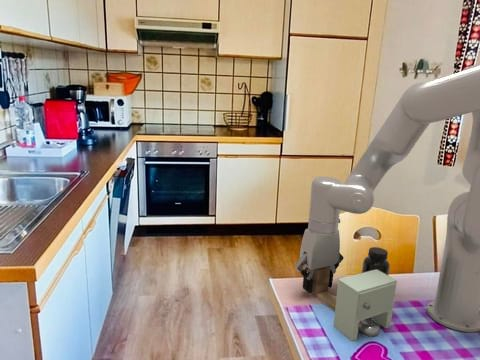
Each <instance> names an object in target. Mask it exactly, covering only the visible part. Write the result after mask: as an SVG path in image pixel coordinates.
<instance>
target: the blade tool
mask: <svg viewBox="0 0 480 360" xmlns="http://www.w3.org/2000/svg"><path fill="white" fill-rule="evenodd" d="M309 270H310V269H308V271H307V273H308V272H309ZM329 276H330V267H329V266H327V267H323V268H319V269H315V270H314V273H313V275H312V278H311V279H313V287H312V293H308V294H310V295H311V296H312V297H314V298H315V299H317V300H318V301H320V303H322V304H324V305H325V306H326V307H327V308H329V309H330V308H331V309H332V311H333V310H334V311H335V307H336V297H337V296H335V295H333V294H332V293H330V292H329V287H328V286H329ZM331 309H330V310H331ZM334 311H333V312H334Z"/></svg>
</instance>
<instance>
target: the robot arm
mask: <svg viewBox="0 0 480 360" xmlns="http://www.w3.org/2000/svg"><path fill="white" fill-rule="evenodd" d="M470 113H471V114H472V125H471V132H470V137H469V141H468V146H467V148H466V153H465V157H464V160H463V161H464V162H463V164H462V168H461V169H462V170H461V171H462V176H463V178H464V179H465V181H466V182H467V183H468V184H469V185H470V187H469V191H466V192H463V193H461V194H458V195H457V196H456V197H454V198H453V200H452V201H451V203H450V205H449V207H448V211H447V217H446V218H447V219H446V233H445V234H446V235H445V242H444V250H443V255H442V258H441V263H440V272H439V276H438V277H439V278H438V283H437V290H436V295H435V299H433V300H431V301H429V302H428V303H427V306H426V311H427V314H428V315H429V317H430V318H431V319H432V320H434V322H437V323H438V324H440V325H442V326H444V327H446V328H449V329H452V330H456V331H459V332H465V333H466V332H467V333H473V332H476V333H477V332H478V331H480V63H479V64H474V65H470V66H467V67H465V68H464V69H463V70H461V71H459V72H455V73H452V74H449V75H445V76H443V77H440V78H436V79H432V80H428V81H424V82H423V81H421V82H418V83H414V84H412V85H410V86H409V87H408V88H406V89H405V91H404V92H403V94H402V95H401V97H400V98H399V100H398V101H397V103H396V104H395V106H394V107H393V109H392V110H391V112H390V113H389V115H388V116H387V118H386V120H385V121H384V122H383V124H382V126H381V127H380V128H379V130H378V131H377V133H376V135H375V136H374V138H372V140H371V142H370V144H369V145H368V146H367V148H366V150H365V151H364V153H363V154H362V156H361V157H360V159H359V160H358V161H357V162H356V165H355V166H354V167H353V169H352V170H351V172H350V173H349V174H348V177H347V178H346V179H345V181H344V183H342V182H341V180H340V179H338V178H336V177H335V178H334V177H330V176H317V177H315V178H313V180H312V181H311V189H310V202H309V215H308V226H307V228H305V230H304V233H303V236H302V240H301V246H300V251H299V259H298V261H297V263H295V265H294V268H295V269H296V270H297V272H298V273H300V274H301V276H302V277H303V278H302V289H303V290H304V291H306V292H307V293H308V294H309V293H312V287H313V279H311V278H312V275H313V273H314V270H315V269H319V268H323V267H327V266H329V267H330V276H329V286H328V289H331V288H333V283H334V274H336V272H337V271H336V270H337V269H338V267H339V266H340V263H342V262H343V260H344V258H345V257H344V256H343V255H342V253H341V252H340V249H341V241H340V239H341V238H340V237H341V236H340V229H339V224H341V219H340V211H343V212H346V213H351V214H355V215H362V214H365V213H367V212H369V211H370V210H371V209H372V208H373V205H374V202H375V196H374V191H375V190H376V188H377V186H378V185H379V184H380V182H381V181H382V179H383V178H384V176H385V175H386V174H387V172H389V170H390V169H392V167H393V166H395V165H396V164H398V163H401V162H402V161H403V160H404V159H405V158H406V157H407V156H409V154H410V153H411V151H412V150H413V148H414V147H415V146H416V143H417V142H418V141H419V140H420V138H421V136H422V135H424V132H425V131H426V130H427V129H428V127H429V126H430V124H431V123H432V124H433V123H436V122H437V123H438V122H441V121H445V120H450V119H453V118H456V117H461V116H464V115H467V114H470ZM308 269H310V270H309V272H308Z"/></svg>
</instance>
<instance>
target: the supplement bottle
mask: <svg viewBox="0 0 480 360" xmlns="http://www.w3.org/2000/svg"><path fill="white" fill-rule="evenodd" d="M388 254H389V251H387V249H384V248H382V247H378V246H374V247H373V246H372V247H370V248H369V249H368V253H367V255H368V256H366V257H365V258H364V259H363V263H362V271H361V273H364V272H368V271H372V270H376V269H377V270H379V271H381V272H383V273H384V274H386V275H388V276H390V274H389V273H390V267H391V266H390V265H391V264H390V262H389V261H388Z"/></svg>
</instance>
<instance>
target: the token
mask: <svg viewBox="0 0 480 360" xmlns="http://www.w3.org/2000/svg"><path fill="white" fill-rule="evenodd" d="M379 332H380V324H378V323H377V322H376V321H374V320H373V319H371V318H367V319H364V320H361V321H359V326H358V333H359V334H360V335H362V336H364V337H367V338H377V337H378V336H379Z"/></svg>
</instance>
